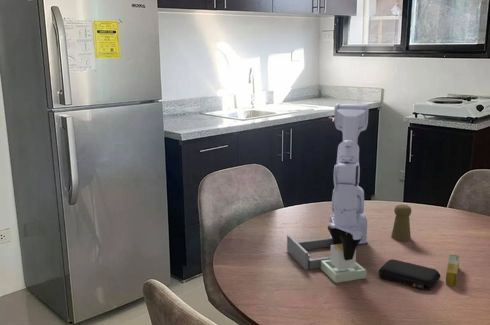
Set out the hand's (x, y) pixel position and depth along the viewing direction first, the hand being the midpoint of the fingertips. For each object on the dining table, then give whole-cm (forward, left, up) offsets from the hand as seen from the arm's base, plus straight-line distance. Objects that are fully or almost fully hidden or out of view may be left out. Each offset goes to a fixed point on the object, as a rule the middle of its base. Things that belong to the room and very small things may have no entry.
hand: (343, 255), depth 132 cm
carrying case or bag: (-15, +8, -6) cm, 18 cm away
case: (0, -12, -5) cm, 13 cm away
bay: (0, 0, -5) cm, 5 cm away
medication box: (-27, +10, -6) cm, 30 cm away
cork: (-30, -18, -6) cm, 35 cm away
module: (0, 0, -3) cm, 3 cm away
